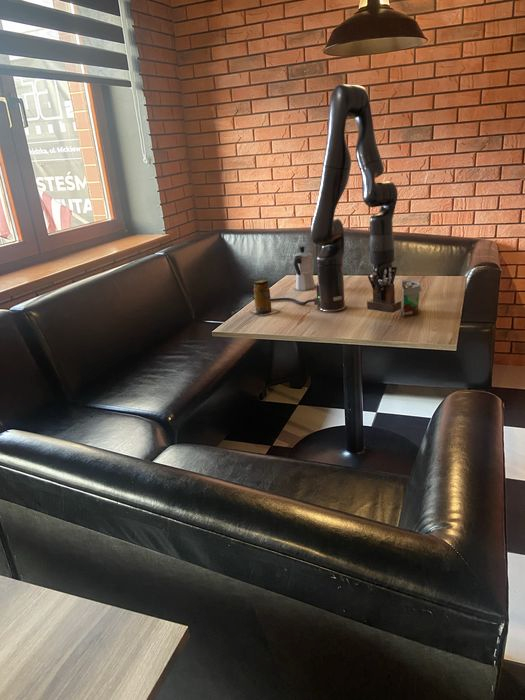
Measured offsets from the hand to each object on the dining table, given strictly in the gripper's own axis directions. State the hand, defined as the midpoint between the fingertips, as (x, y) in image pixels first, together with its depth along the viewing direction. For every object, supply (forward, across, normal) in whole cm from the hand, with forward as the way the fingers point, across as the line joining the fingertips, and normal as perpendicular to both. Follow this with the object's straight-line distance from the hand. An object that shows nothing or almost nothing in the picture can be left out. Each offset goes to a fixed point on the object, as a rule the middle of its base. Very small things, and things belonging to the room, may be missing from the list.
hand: (383, 299), depth 176 cm
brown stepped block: (+3, 0, 0) cm, 3 cm away
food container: (+8, -13, +3) cm, 15 cm away
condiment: (+7, +11, -46) cm, 48 cm away
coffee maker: (+7, -22, -55) cm, 60 cm away
